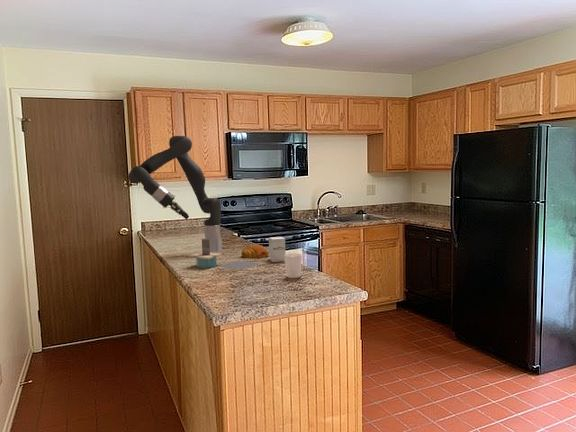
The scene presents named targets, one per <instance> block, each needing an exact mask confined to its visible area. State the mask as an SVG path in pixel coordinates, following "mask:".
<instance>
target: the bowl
mask: <svg viewBox="0 0 576 432" xmlns="http://www.w3.org/2000/svg"><path fill="white" fill-rule="evenodd" d="M217 259H218V257H214V258H210V259H200V258H195V260H196V262H195V263H196V267H197V268H202V269H205V268H206V269H208V268H215V267H216V266H217V265H218V262H217V261H218V260H217Z"/></svg>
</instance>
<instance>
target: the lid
mask: <svg viewBox="0 0 576 432" xmlns="http://www.w3.org/2000/svg"><path fill="white" fill-rule="evenodd" d="M201 249H202V250H201V251H202V252H201V251H200V252H197V253H194V254H190V255H187V257H188V258H192V259H196V258H200V259H210V258H214V257H217V258H218V257H221V256H224V255H225V253H223V252H221V253H216V252H210V243H209V238H207V239H205V238H201Z"/></svg>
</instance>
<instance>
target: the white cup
mask: <svg viewBox="0 0 576 432" xmlns="http://www.w3.org/2000/svg"><path fill="white" fill-rule="evenodd" d="M284 256H285V261H284V266H285V276H286V278H290V279H297V278H300V277H301V276H302V265H303V263H302V257H303V256H302V253H300V252H299V253H298V252H293V253H291V252H290V253H285V255H284Z"/></svg>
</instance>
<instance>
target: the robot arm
mask: <svg viewBox="0 0 576 432" xmlns="http://www.w3.org/2000/svg"><path fill="white" fill-rule="evenodd" d="M168 145H169V147H168V148H167V149H165V150H162V151H159V152H157V153H154V154H153V155H151V156H150V157H148V158H147V159H145V161H143V162H142V163H141V164H140V165H136V166H134V167H132V169H131V170H130V171H129V172H128V175H127V176H128V177H127V178H128V180H129V182H130V183H132V184H136V185H137V184H139V183H140V185H142V186H143V187H142V188H143V190H144V191H145V192H146V193H147V194H148V195H149V196H151V197H152V199H154V200H155V201H156V202H157V203H159V204H160V205H161V206H162V207H163V208H164V209H166V208H167V207H168V206H170V210H172V211H174V212H175V213H176V214H178V215H179V216H181V217H182V218H184V219H185V220H188V219H189V218H190V216H189V214H188V213H187V212H186V211H185V210H184V209H183V208H182V206H180V205H179V204H178V202H176V201H173V200H175V195H173V194H172V193H171V192H170V191H169V190H168V189H166V188H165V187H163V186H162V185H160V184H159V183H158V182H157V181H156V180H155V179H154V178H153V176H152V175H151V174H153V173H154V172H156V171H157V170H159V169H160V168H162V167H163V166H164V165H166V164H168V163H169V162H171V161H172V160H175V159H176V160H177V161H178V163H179V166H180V168H181V170H182V171H183V173H184V175H185V177H186V179H187V181H188V182H189V184H190V186H191V189H192V191H193V193H194V195H195V197H196V200H197V202H198V205H199V208H200V210H201V211H202V212H203V213H204V214H209V218H207V219H205V220H204V221H203V222H204V223H203V225H204V239H207V238H209V243H210V252H216V253H223V242H222V236H221V220H222V205H221V201H220V199H218V198H217V197H213V198H212V197H208V195H207V194H206V191H205V186H206V176H205V175H204V173H203V170H202V168H201V167H200V166H199V164H197V163H196V162H195V161H194V160H193V159H192V158H191V157H190V156H189V154H188V153H189V152H190V151H191V150H192V147H193V143H192V140H191V139H190V138H189V137H188V136H186V135H185V136H184V135H174V136H171V137H170V138H169V141H168Z"/></svg>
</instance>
